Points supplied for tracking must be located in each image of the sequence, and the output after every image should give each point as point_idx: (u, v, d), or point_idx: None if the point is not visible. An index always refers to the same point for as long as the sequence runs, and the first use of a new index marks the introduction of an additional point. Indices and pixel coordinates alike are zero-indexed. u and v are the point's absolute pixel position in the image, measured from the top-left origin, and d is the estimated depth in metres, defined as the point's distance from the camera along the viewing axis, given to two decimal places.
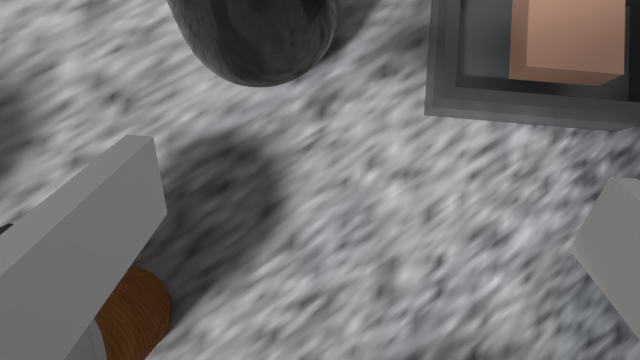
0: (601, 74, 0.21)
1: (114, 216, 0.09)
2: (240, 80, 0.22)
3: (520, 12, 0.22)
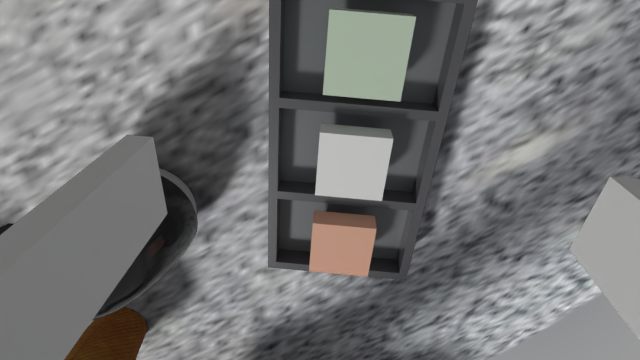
0: (356, 273, 0.35)
1: (114, 216, 0.09)
2: None
3: None
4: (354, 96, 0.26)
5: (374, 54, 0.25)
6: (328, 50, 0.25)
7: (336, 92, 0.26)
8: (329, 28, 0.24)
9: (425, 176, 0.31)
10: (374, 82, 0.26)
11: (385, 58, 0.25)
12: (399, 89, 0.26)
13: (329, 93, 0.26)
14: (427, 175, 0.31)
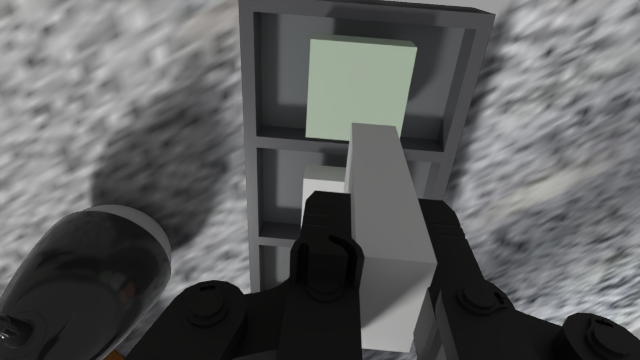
0: None
1: None
2: None
3: None
4: (343, 138, 0.22)
5: (366, 91, 0.20)
6: (310, 87, 0.20)
7: (321, 134, 0.22)
8: (311, 61, 0.20)
9: None
10: (367, 123, 0.21)
11: (379, 95, 0.20)
12: (397, 131, 0.21)
13: (313, 135, 0.22)
14: None
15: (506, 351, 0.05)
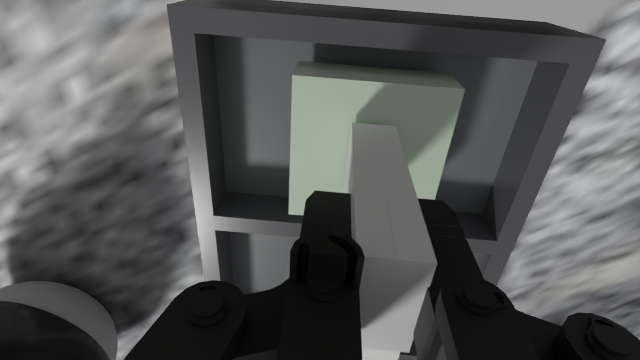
0: None
1: None
2: None
3: None
4: None
5: None
6: (294, 146, 0.13)
7: None
8: (294, 108, 0.12)
9: None
10: None
11: None
12: None
13: (300, 212, 0.15)
14: None
15: (506, 351, 0.05)
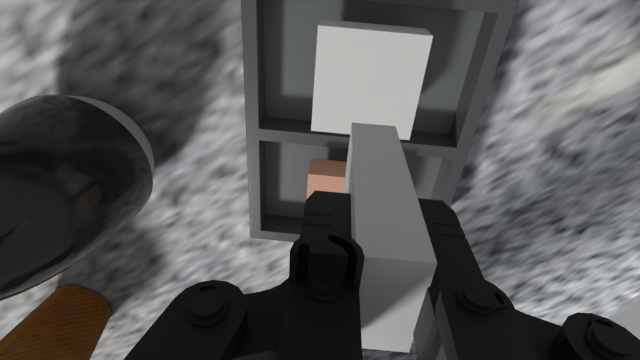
0: None
1: None
2: None
3: None
4: None
5: None
6: None
7: None
8: None
9: (473, 105, 0.21)
10: None
11: None
12: None
13: None
14: (476, 104, 0.21)
15: (506, 351, 0.05)
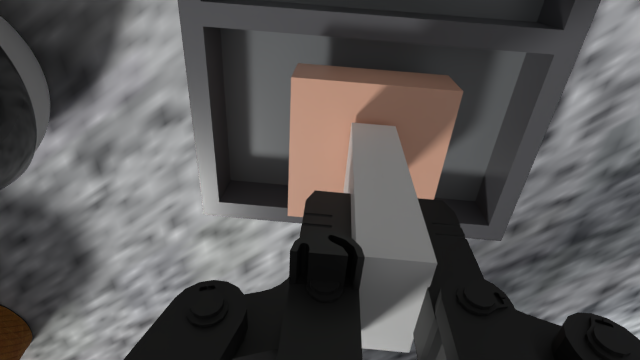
0: None
1: None
2: None
3: None
4: None
5: None
6: None
7: None
8: None
9: None
10: None
11: None
12: None
13: None
14: None
15: (506, 351, 0.05)
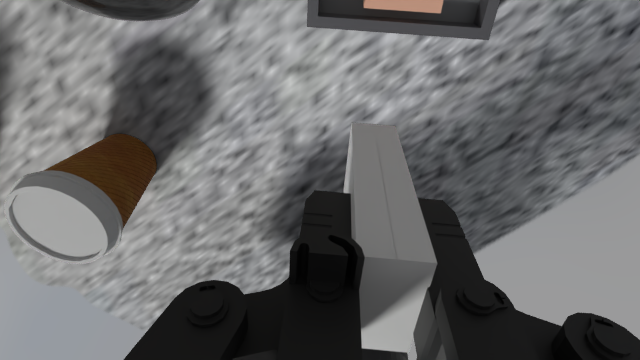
0: (424, 11, 0.27)
1: None
2: None
3: None
4: None
5: None
6: None
7: None
8: None
9: None
10: None
11: None
12: None
13: None
14: None
15: (506, 351, 0.05)
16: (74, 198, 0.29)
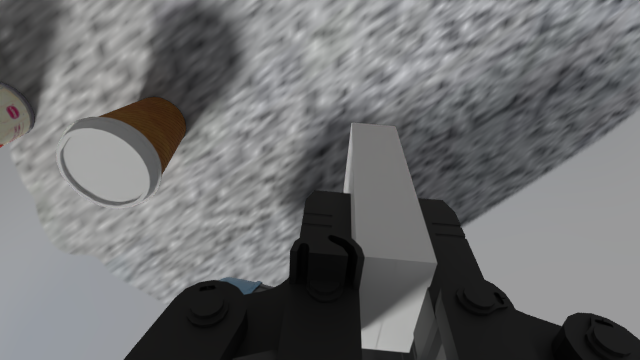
0: None
1: None
2: None
3: None
4: None
5: None
6: None
7: None
8: None
9: None
10: None
11: None
12: None
13: None
14: None
15: (506, 351, 0.05)
16: (123, 140, 0.32)
